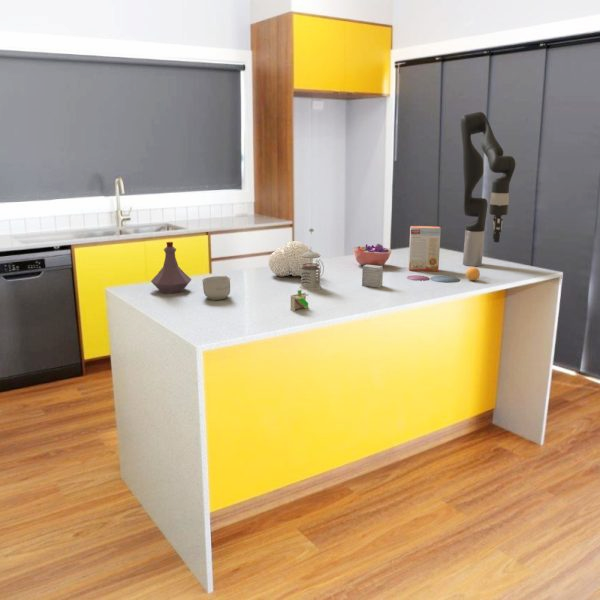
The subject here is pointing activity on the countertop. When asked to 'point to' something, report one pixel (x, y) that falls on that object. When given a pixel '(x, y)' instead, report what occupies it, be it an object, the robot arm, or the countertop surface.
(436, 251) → the cracker box
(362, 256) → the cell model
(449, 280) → the blue-gray disc
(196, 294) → the countertop surface
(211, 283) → the teacup
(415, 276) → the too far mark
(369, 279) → the medicine box
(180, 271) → the flask
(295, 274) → the cauliflower
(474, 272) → the ball
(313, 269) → the french press
